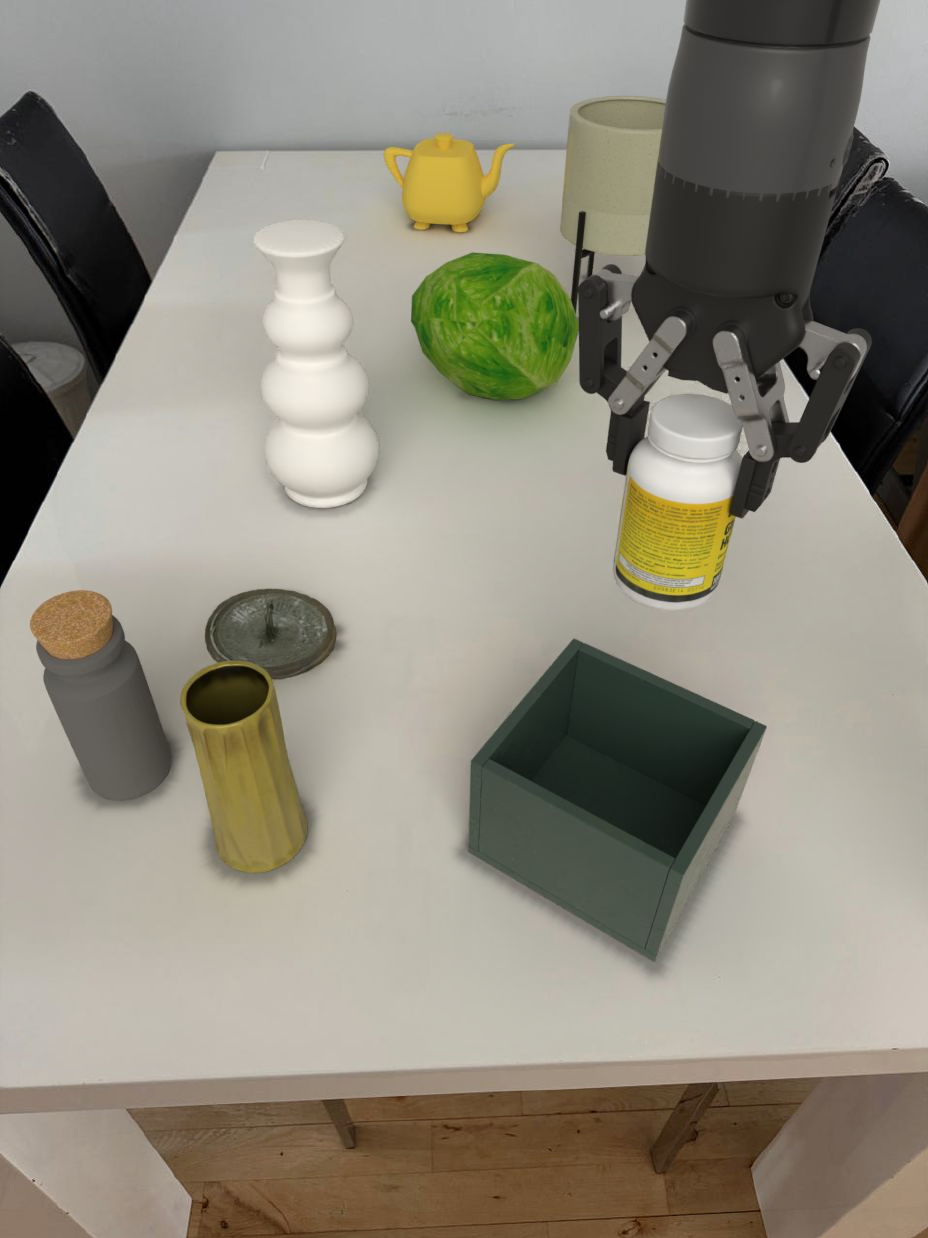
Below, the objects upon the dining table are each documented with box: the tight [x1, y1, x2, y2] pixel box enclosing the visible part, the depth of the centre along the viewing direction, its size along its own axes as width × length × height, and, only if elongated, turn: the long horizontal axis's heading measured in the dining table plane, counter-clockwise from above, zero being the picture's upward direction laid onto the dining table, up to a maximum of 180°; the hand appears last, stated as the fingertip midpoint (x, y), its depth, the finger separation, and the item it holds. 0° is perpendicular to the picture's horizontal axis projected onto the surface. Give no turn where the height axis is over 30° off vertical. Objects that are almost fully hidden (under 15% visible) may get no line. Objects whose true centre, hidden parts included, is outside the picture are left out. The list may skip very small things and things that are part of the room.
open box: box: [467, 638, 768, 963], centre depth 58 cm, size 14×13×10 cm
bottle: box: [29, 589, 172, 801], centre depth 60 cm, size 6×6×15 cm
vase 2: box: [252, 219, 380, 509], centre depth 82 cm, size 11×11×25 cm
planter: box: [559, 95, 666, 315], centre depth 115 cm, size 15×16×23 cm
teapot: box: [383, 132, 516, 233], centre depth 139 cm, size 13×20×12 cm
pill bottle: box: [612, 393, 743, 612], centre depth 50 cm, size 6×6×11 cm
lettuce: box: [410, 251, 579, 401], centre depth 101 cm, size 17×20×17 cm
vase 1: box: [179, 661, 308, 874], centre depth 56 cm, size 6×6×14 cm
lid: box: [204, 588, 338, 681], centre depth 73 cm, size 11×10×5 cm
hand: (683, 487), depth 49 cm, fingers closed on pill bottle, 6 cm apart
